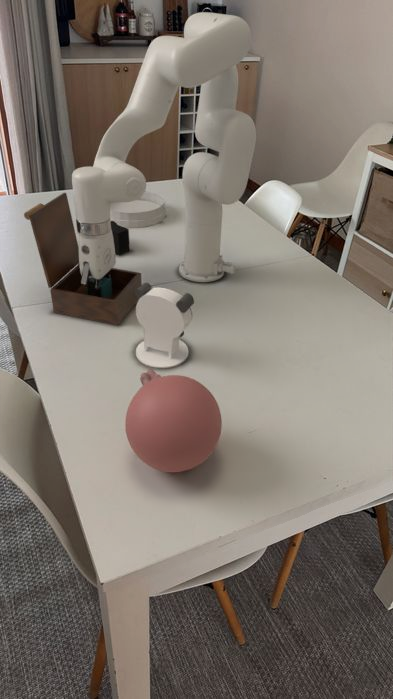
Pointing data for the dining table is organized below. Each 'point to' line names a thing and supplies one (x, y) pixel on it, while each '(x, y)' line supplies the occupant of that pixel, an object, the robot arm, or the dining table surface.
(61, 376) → the dining table surface
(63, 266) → the box lid
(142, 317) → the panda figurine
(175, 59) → the robot arm
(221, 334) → the dining table surface
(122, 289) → the box
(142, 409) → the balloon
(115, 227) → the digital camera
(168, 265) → the dining table surface
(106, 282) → the block
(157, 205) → the dish
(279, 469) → the dining table surface
